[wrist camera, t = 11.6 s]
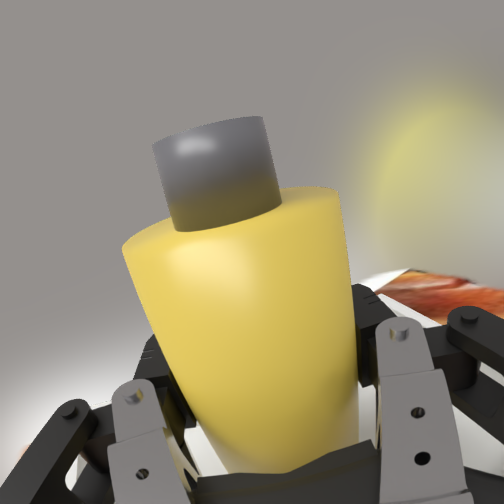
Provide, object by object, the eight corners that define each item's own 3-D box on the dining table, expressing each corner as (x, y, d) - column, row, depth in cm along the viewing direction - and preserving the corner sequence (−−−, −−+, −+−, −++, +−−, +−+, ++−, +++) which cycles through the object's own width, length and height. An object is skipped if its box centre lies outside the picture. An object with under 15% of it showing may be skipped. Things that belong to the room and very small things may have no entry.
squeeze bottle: (323, 421, 14) (267, 126, 10) (379, 487, 9) (370, 93, 5) (230, 461, 13) (110, 167, 8) (268, 543, 8) (70, 154, 4)
